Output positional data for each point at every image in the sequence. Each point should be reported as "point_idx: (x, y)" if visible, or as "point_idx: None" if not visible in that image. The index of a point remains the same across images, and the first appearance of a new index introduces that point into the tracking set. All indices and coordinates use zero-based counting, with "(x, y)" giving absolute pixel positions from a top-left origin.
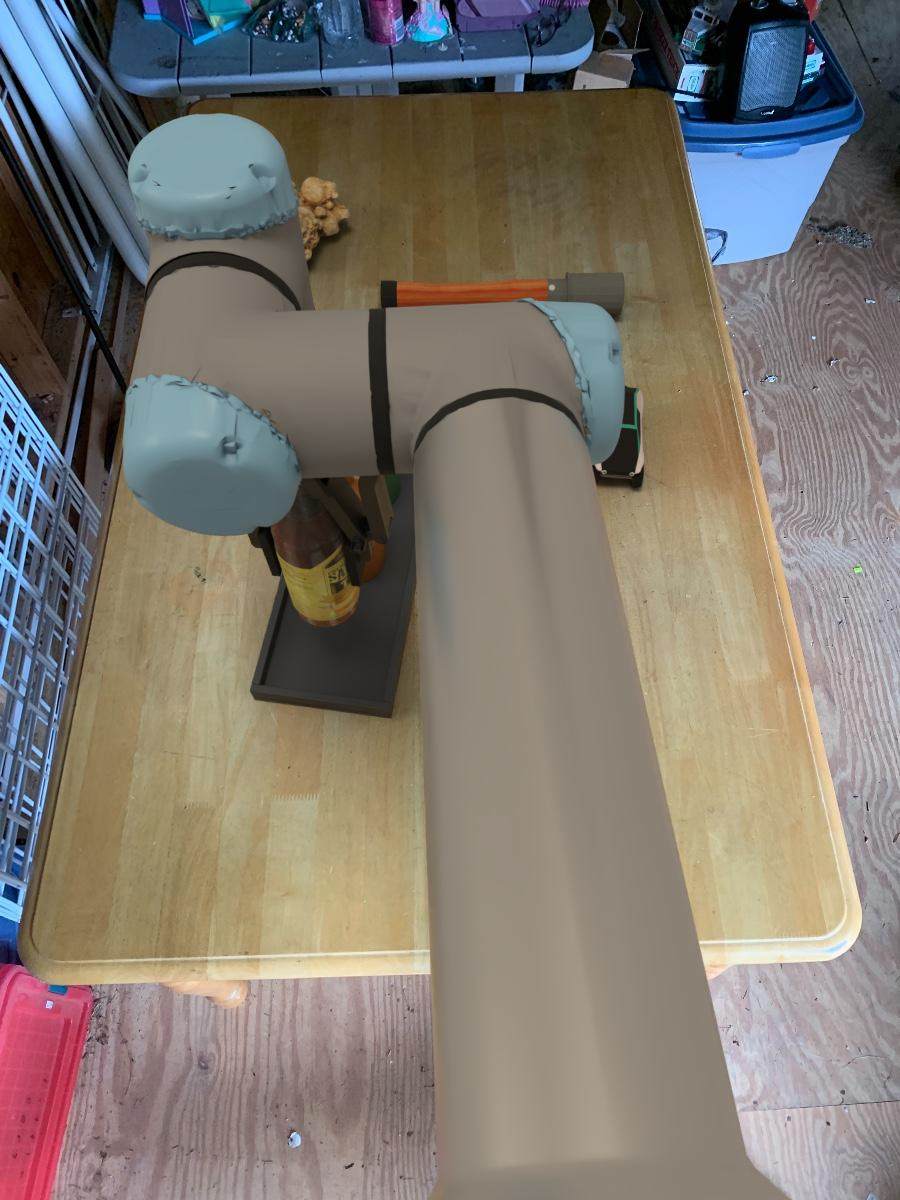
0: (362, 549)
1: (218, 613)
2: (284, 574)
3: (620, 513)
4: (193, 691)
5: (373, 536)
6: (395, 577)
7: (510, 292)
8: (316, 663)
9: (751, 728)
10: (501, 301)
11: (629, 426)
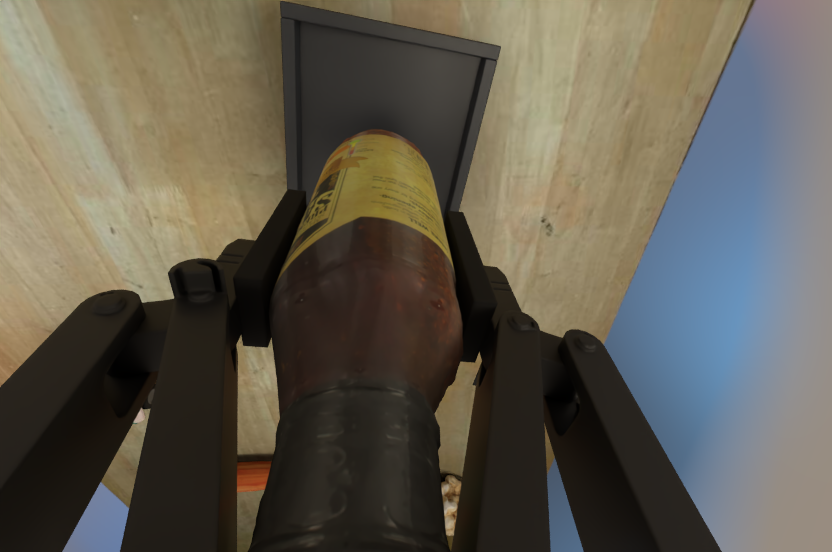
0: (182, 273)
1: (530, 178)
2: (436, 211)
3: (78, 299)
4: (574, 61)
5: (124, 318)
6: None
7: (256, 482)
8: (406, 101)
9: None
10: (265, 473)
11: None
